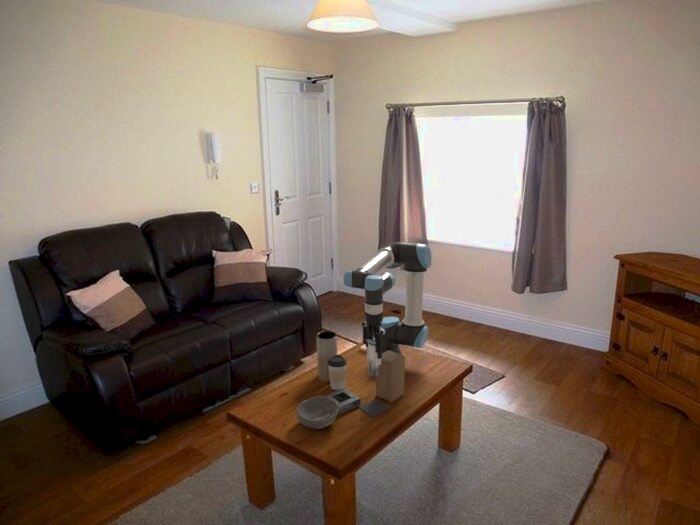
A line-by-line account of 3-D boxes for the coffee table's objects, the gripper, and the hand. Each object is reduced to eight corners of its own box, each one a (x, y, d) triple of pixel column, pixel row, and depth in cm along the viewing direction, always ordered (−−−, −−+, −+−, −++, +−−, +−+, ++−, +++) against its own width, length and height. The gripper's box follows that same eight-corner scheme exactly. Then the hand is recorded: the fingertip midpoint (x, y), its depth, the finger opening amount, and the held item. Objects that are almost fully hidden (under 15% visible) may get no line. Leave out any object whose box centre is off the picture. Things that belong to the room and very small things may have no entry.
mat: (375, 400, 226) (375, 399, 226) (390, 409, 219) (390, 408, 218) (358, 407, 220) (358, 406, 220) (373, 417, 213) (373, 416, 212)
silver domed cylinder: (374, 369, 219) (374, 335, 215) (383, 374, 214) (383, 339, 210) (364, 373, 215) (364, 338, 211) (373, 378, 211) (373, 343, 207)
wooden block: (374, 395, 230) (374, 356, 225) (388, 387, 237) (388, 349, 232) (391, 403, 223) (392, 363, 218) (405, 394, 230) (405, 355, 225)
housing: (344, 394, 231) (344, 387, 230) (360, 405, 222) (360, 398, 221) (323, 403, 224) (323, 396, 223) (339, 414, 215) (338, 407, 214)
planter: (341, 377, 247) (340, 335, 241) (324, 383, 242) (323, 340, 236) (331, 370, 255) (329, 329, 249) (314, 375, 250) (312, 333, 244)
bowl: (304, 440, 198) (303, 423, 195) (291, 418, 213) (290, 401, 211) (345, 429, 204) (345, 412, 202) (330, 408, 220) (329, 392, 218)
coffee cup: (344, 392, 234) (344, 363, 230) (326, 390, 235) (325, 361, 231) (348, 382, 242) (348, 354, 238) (330, 381, 244) (330, 353, 240)
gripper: (353, 308, 212) (354, 357, 218) (381, 320, 198) (381, 372, 205) (367, 304, 216) (367, 353, 223) (394, 315, 203) (394, 367, 209)
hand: (374, 362), depth 214 cm, fingers closed on silver domed cylinder, 5 cm apart
